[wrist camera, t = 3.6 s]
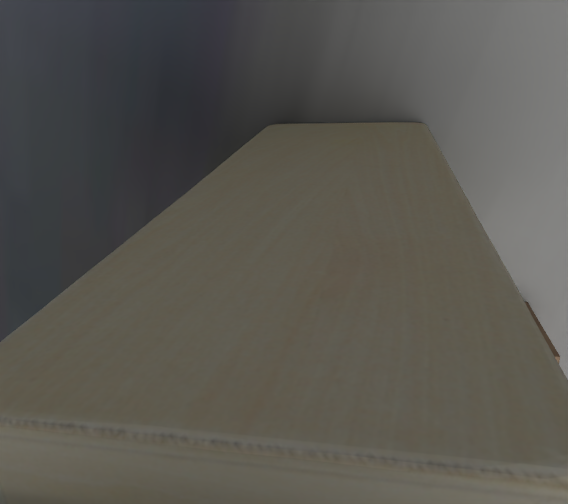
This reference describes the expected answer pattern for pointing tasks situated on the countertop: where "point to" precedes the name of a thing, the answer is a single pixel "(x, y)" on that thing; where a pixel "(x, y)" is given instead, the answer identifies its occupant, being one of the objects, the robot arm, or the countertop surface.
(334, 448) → the toy refrigerator
